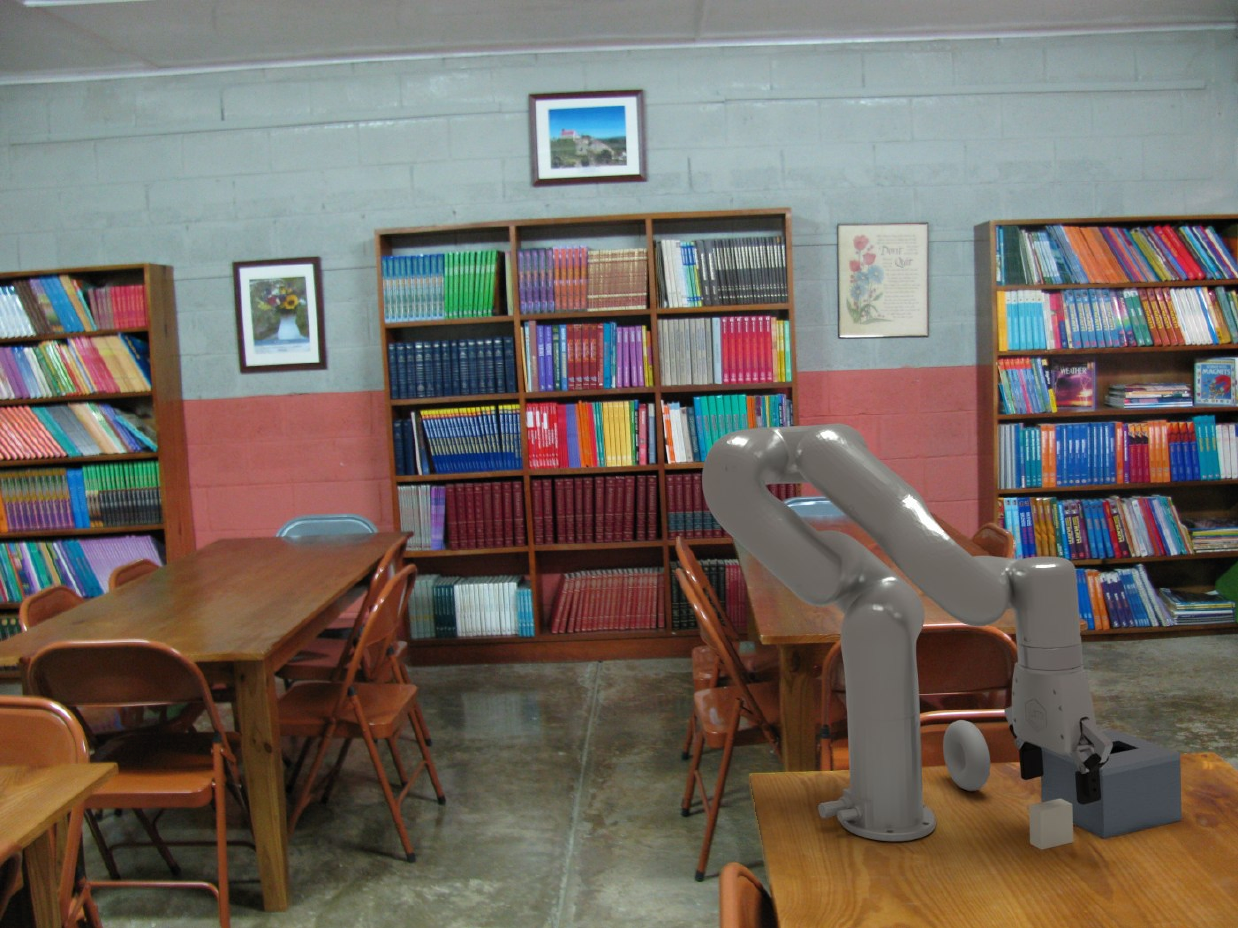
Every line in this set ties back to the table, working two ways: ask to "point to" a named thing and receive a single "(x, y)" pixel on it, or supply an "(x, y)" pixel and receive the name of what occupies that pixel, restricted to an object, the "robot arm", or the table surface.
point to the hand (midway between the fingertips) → (1059, 789)
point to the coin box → (1120, 787)
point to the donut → (966, 755)
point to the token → (1051, 823)
